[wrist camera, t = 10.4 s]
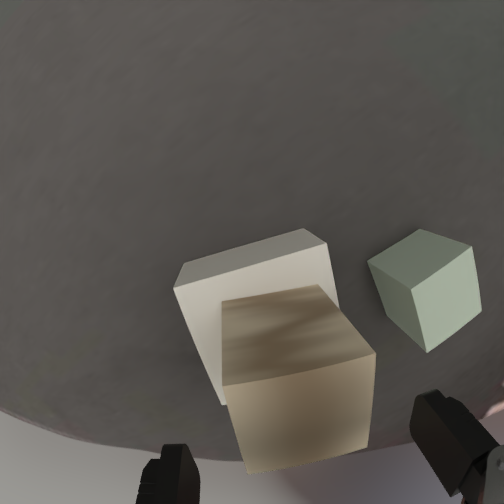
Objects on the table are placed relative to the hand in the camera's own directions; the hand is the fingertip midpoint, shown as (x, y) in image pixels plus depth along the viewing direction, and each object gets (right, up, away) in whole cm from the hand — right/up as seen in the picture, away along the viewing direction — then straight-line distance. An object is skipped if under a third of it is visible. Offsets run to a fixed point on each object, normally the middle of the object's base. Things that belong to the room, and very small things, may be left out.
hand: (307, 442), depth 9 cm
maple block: (-1, +2, +8) cm, 8 cm away
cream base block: (-1, +3, +12) cm, 13 cm away
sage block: (+10, +5, +13) cm, 17 cm away
